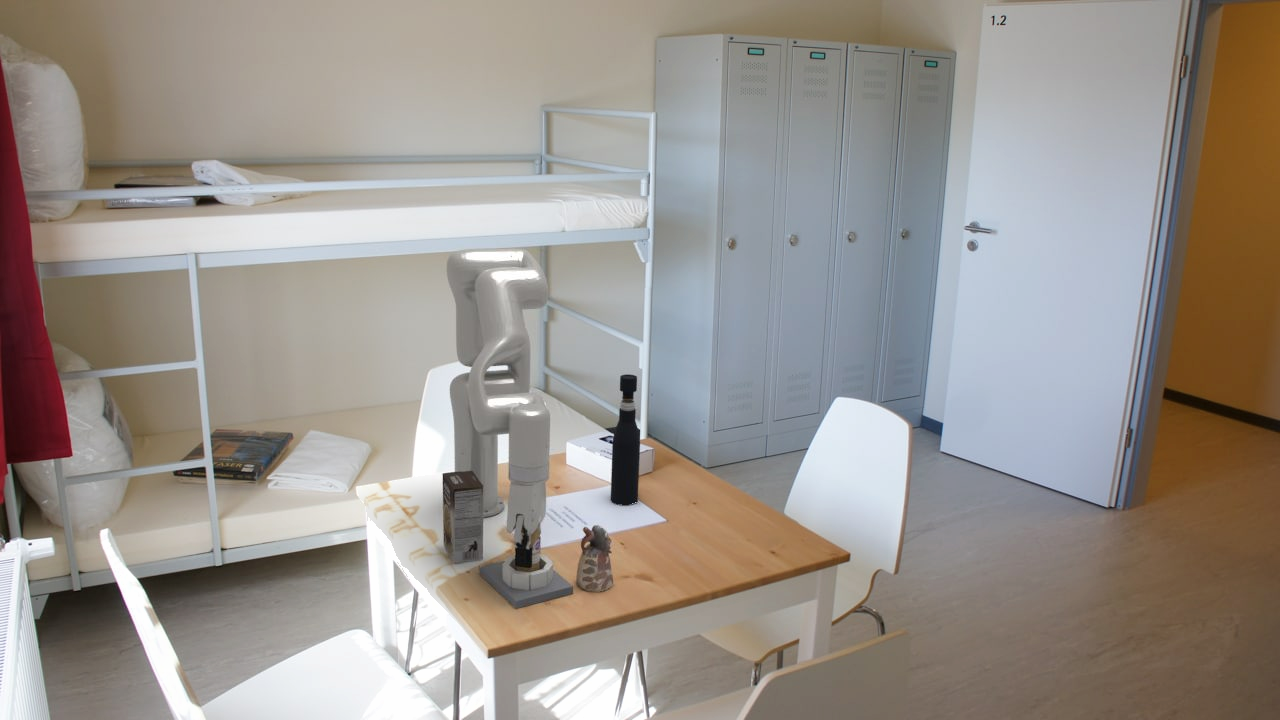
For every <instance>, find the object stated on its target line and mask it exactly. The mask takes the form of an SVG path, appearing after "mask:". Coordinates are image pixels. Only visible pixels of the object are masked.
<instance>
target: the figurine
mask: <svg viewBox="0 0 1280 720" xmlns="http://www.w3.org/2000/svg"><path fill="white" fill-rule="evenodd" d="M582 531H583V533H584V534H585V535H584V536H583V538H581V542H580V549H581V553H580V557H579V560H578V563H577V564H578V565H577V571H576V583H577V585H578V586H577V587H579V588H580V589H582V590H584V591H586V592H591V591H592V592H593V593H594V592H595V593H600V591H602V592H605V591H607V590H609V589H610V588H611V587H614V576H613V571H612V564H611V558H610V554H612V553H613V550H612V549H611V543H612V539H611V537H609V533H608V531H607V530H606V529H605V528H604V527H603V526H601V525H599V524H596V525H593V526H592V527H591V529H590V528H589V527H588V526H584V527H583V528H582ZM587 543H588V544H587ZM586 544H587V545H586ZM585 545H586V546H585ZM608 588H609V589H608ZM604 590H605V591H604Z"/></svg>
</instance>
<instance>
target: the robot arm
mask: <svg viewBox="0 0 1280 720" xmlns="http://www.w3.org/2000/svg"><path fill="white" fill-rule="evenodd" d="M446 276H447V281H448V285H449V287H450V290H451V292H452V295H453V299H454V302H455V338H456V339H455V343H456V347H455V349H456V355H457V356H456V357H457V359H458V361H459V363H460V364H461V365H462V366H464V367H469V368H470V370H469V372H464V373H461V374H459V375H456V377H454V378H452V380H451V382H450V384H449V398H450V403H451V411H452V417H453V430H454V434H453V436H454V437H453V438H454V440H453V441H454V472H460V471H462V472H464V471H473V472H474V474H475V475H476V477H477V478H478V479H479V481H480V482H481V483H482V485H483V518H486V517H487V518H488V517H491V516H496V515H497V514H499V513H501V512H502V511H503V510H504V509H505V500H504V499H503V497H500V496H499V495H498V485H499V484H498V483H499V482H498V479H499V473H498V466H499V465H498V459H499V458H498V457H499V456H498V455H499V453H498V449H499V447H498V446H499V442H498V441H499V439H498V436H500V435H508V475H507V476H508V477H507V478H508V480H509V481H510V485H509V491H508V500H507V515H506V516H507V517H506V532H507V533H508V534H511V533H513V531H514V533H513V538H512V542H513V543H514V555H515V566H517V567H524V568H531V567H532V548H531V535H532V533H533V532H534V531H535V530H536V529H537V527H538V524H540V542H541V540H542V539H541V534H542V528H541V527H542V526H541V525H542V522H543V521H544V520H545V518H546V511H547V486H546V485H547V483H546V482H548V481H549V479H550V450H551V449H550V445H551V444H550V442H551V441H550V440H551V438H550V437H551V436H550V435H551V413H550V411H549V408H548V407H547V402H546V400H544V398H543V396H541V395H540V394H539V393H537V392H531V341H530V336H529V332H528V330H527V328H526V325H525V324H526V323H525V320H524V319H525V318H524V313H523V310H537V309H542V308H544V307H545V306H546V305H547V304H548V300H549V292H550V291H549V285H548V279H547V277H546V275H545V273H544V271H543V269H542V267H541V266H540V264H539V263H538V261H537V260H536V259H535V258H534V257H533V255H532V254H531V253H530V252H529V251H528V250H526V249H524V248H517V247H510V248H470V249H469V248H468V249H459V250H457V251H456V250H455V251H454V252H452V253H451V254H450V255H449V256H448V259H447V261H446ZM500 366H501V367H502V366H503V367H504V366H507V369H499V370H488V369H490V368H491V367H500ZM540 516H541V520H540V523H539V518H540ZM523 529H526V530H527V532H526V531H523ZM522 535H523V536H527V541H526V540H525V539H523V537H522Z"/></svg>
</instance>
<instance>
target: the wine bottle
mask: <svg viewBox="0 0 1280 720" xmlns="http://www.w3.org/2000/svg"><path fill="white" fill-rule="evenodd" d="M637 389H638V376H637V375H634V374H622V375H620V377H619V391H620V392H622V397H621V398H622V400H621V401H620V408H619V409H618V412H619V413H618V421H617V424H616V427H615V430H614V431H613V438H612V446H611V447H612V448H611V449H612V451H611V474H610V475H611V479H610V502H611V503H613V504H614V503H616V504H615V505H618V504H622V505H621V506H630V505H629V504H632V503H635V502H637V503H638V502H639V483H640V482H639V480H640V477H639V476H640V454H641V440H640V439H641V438H640V432H639V428H638V425H637V422H636V414H637V413H636V410H637V409H636V408H635V407H636V406H635V405H636V402H635V401H634V395H635V394H634V393H636V392H638V391H637ZM635 504H636V503H635ZM632 505H633V504H632Z"/></svg>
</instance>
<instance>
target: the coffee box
mask: <svg viewBox="0 0 1280 720" xmlns="http://www.w3.org/2000/svg"><path fill="white" fill-rule="evenodd" d="M441 475H442V515H443V516H442V517H443V518H442V519H443V520H442V521H443V522H442V524H443V526H442V527H443V530H442V531H443V546H444V548H445V551H446V553H447V554H448V556H449V558H450V559H451V560H450V561H451V562H452V564H456V565H457V564H461V563H467V562H468V563H469V562H477V561H478V562H479V561H483V559H484V548H483V547H484V517H483V485H482V483H481V482H480V481H479V479H478V478H477V477H476V475H475V474H474V472H473V471H464V472H462V471H460V472H455V471H450V472H444V473H442V474H441Z"/></svg>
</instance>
